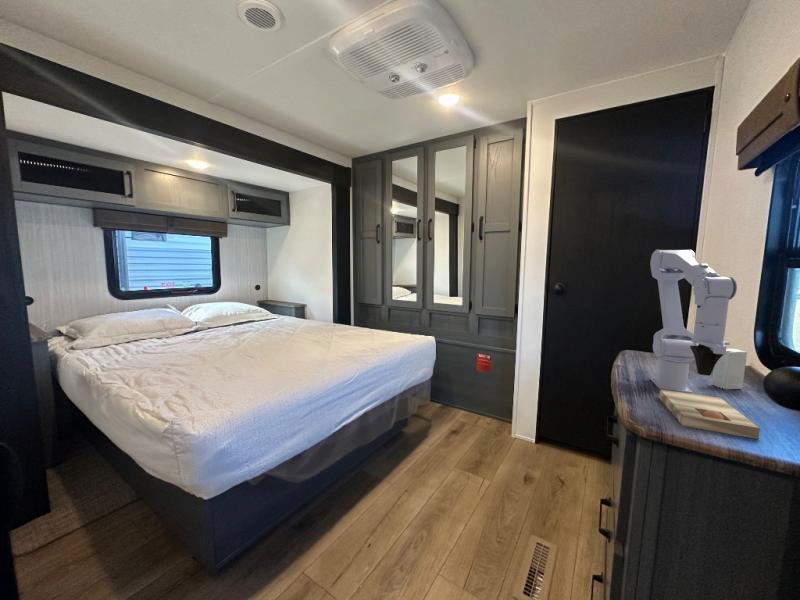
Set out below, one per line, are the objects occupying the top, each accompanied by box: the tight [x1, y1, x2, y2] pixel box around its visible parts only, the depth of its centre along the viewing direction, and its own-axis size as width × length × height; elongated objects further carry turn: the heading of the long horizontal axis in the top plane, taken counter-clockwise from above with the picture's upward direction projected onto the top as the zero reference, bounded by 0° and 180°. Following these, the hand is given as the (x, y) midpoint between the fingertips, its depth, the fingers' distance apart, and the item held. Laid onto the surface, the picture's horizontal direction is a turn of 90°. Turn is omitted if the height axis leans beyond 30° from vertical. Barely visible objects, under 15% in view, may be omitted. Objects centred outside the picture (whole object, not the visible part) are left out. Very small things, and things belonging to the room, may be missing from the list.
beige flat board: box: [658, 388, 761, 440], centre depth 80 cm, size 18×13×2 cm
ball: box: [703, 410, 724, 420], centre depth 75 cm, size 4×4×4 cm
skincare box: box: [711, 348, 748, 390], centre depth 99 cm, size 6×4×12 cm
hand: (703, 374), depth 83 cm, fingers closed
